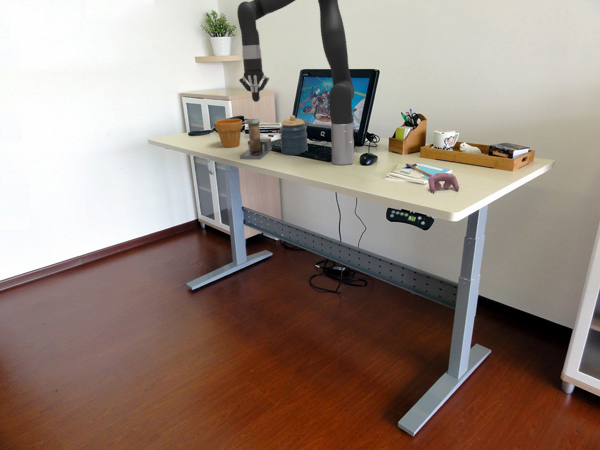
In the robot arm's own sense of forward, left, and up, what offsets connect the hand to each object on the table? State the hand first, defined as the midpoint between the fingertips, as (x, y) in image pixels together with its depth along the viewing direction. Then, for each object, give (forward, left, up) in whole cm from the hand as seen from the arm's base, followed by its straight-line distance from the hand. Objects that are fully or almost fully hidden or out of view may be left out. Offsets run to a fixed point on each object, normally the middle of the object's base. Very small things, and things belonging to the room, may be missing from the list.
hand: (256, 101), depth 175 cm
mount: (+8, -15, -27) cm, 32 cm away
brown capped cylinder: (+8, -15, -25) cm, 30 cm away
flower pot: (+28, -31, -27) cm, 50 cm away
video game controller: (-76, +28, -27) cm, 85 cm away
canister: (-10, -20, -27) cm, 35 cm away
